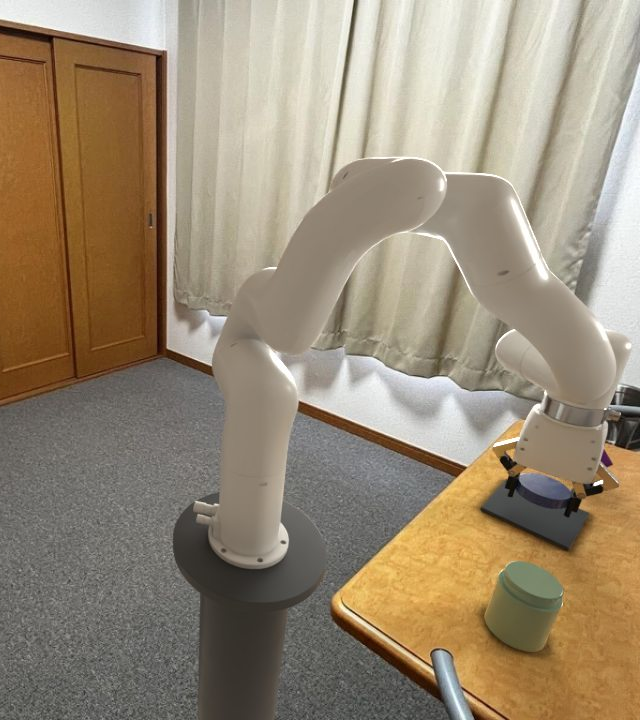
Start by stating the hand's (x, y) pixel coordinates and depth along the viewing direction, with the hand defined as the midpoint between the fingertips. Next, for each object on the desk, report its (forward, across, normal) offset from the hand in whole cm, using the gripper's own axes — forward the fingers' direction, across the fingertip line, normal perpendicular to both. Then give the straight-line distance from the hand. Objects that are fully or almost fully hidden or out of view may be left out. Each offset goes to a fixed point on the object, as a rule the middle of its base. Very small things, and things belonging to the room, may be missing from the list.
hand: (538, 501), depth 79 cm
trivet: (+2, 0, 0) cm, 2 cm away
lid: (-3, 0, 0) cm, 3 cm away
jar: (+2, 0, +28) cm, 28 cm away
